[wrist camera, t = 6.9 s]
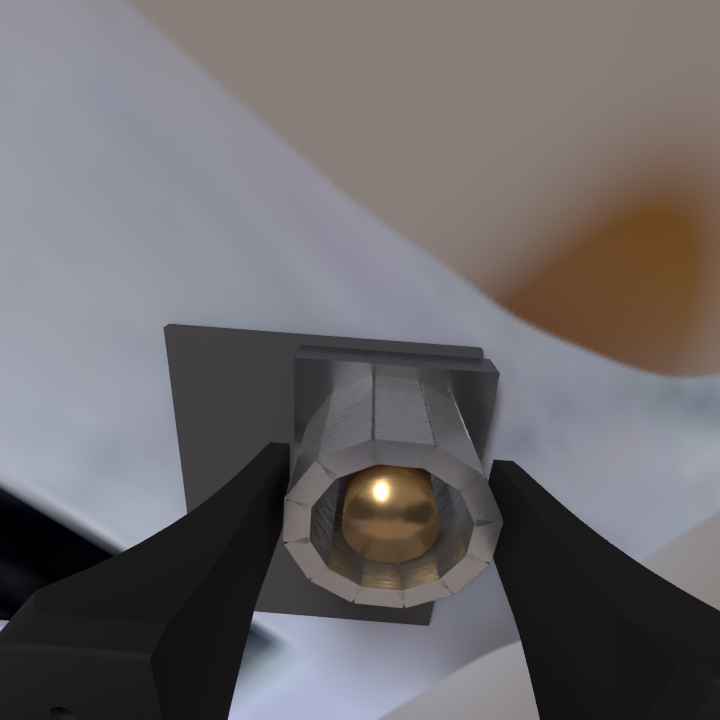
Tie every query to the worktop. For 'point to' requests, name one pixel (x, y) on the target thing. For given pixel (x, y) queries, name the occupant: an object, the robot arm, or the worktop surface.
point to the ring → (398, 448)
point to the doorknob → (387, 482)
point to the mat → (261, 437)
